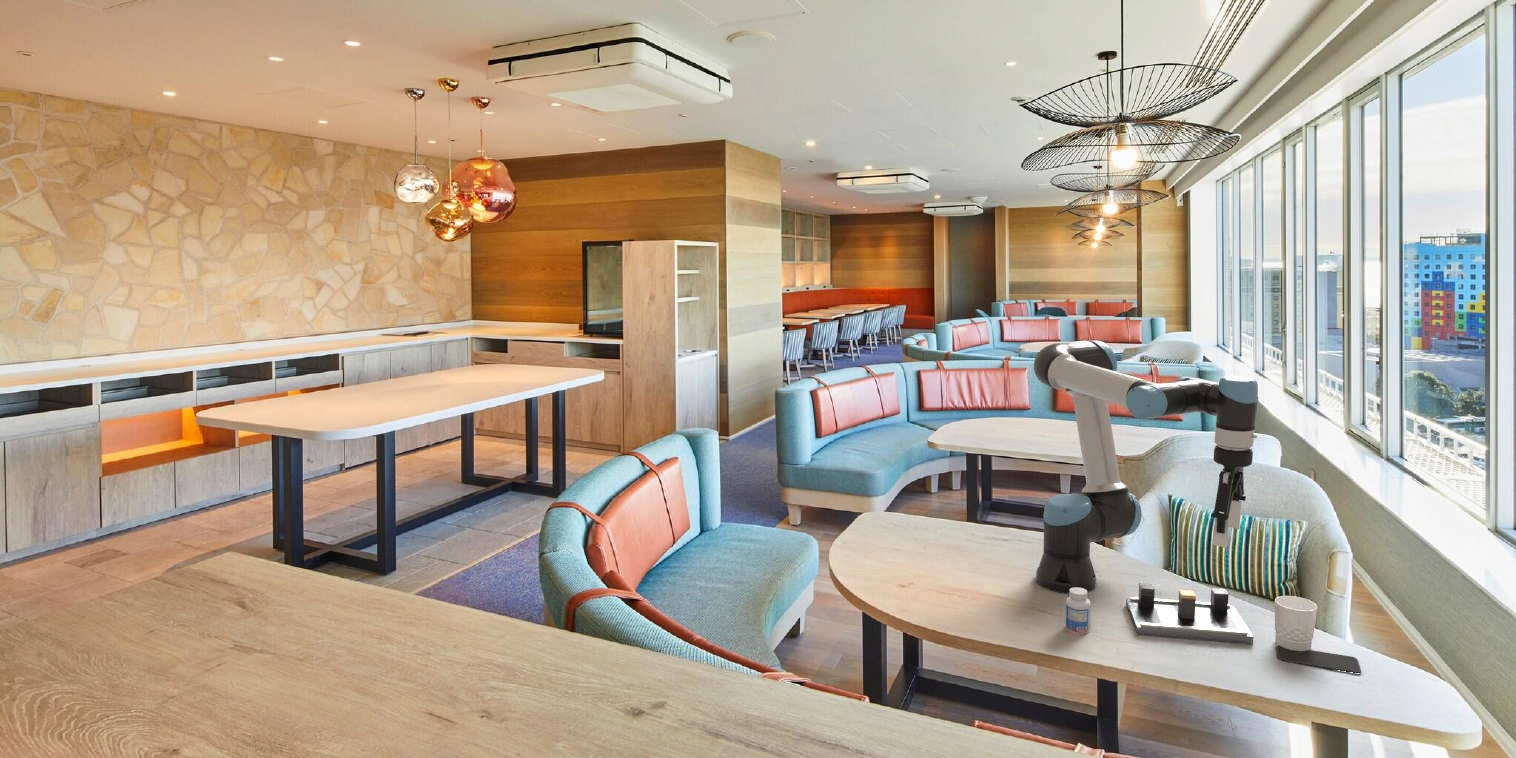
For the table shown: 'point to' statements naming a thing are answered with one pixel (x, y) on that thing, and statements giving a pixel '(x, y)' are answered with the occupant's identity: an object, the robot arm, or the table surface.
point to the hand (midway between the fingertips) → (1226, 536)
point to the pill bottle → (1078, 611)
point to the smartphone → (1319, 659)
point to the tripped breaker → (1186, 604)
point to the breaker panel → (1208, 625)
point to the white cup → (1294, 622)
